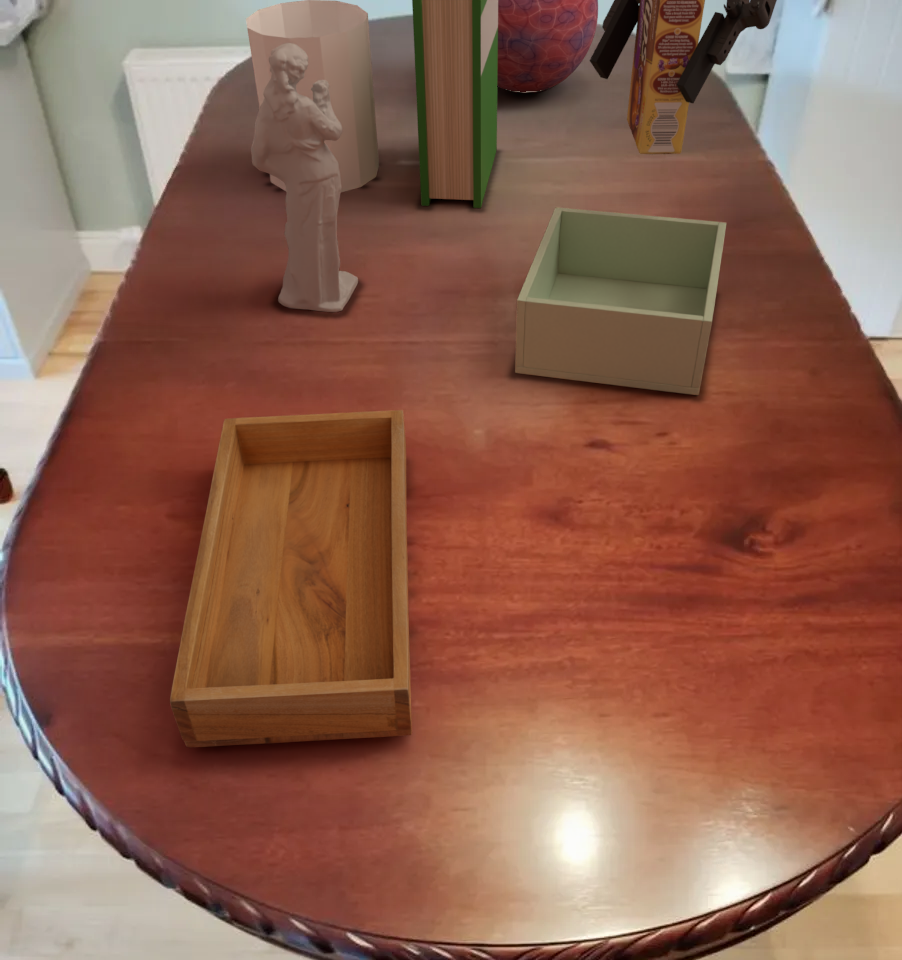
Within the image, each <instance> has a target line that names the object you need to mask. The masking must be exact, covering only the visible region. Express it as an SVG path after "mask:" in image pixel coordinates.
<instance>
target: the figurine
mask: <svg viewBox="0 0 902 960" xmlns="http://www.w3.org/2000/svg"><path fill="white" fill-rule="evenodd" d="M308 60H309V59H308V56H307V54H306V52H305V51H304V50H303V49H301V48H300V47H299V46H298V45H296V44H292V43H285V44H282V45H280V46H278V47H276V48H275V49H273V50H272V51H271V56H270V57H269V63H270V72H271V73H272V75H271V79H270V81H269V82H268V84H267V86H266V87H265V89H264V93H263V95H264V100H263V102H262V104H261V106H260V108H259V107H258V111H257V115H256V118H255V122H254V134H253V140H252V144H251V147H250V153H251V162H252V163H251V165H252V166H253V167H255V168H256V169H257V170H258V171H260V172H262V173H263V172H264V173H266V174H269V175H270V174H271V175H273V176H275V177H277V178H278V179H280V180H281V181H283V182H284V183H285V185H286V191H285V192H286V195H285V213H286V222H285V224H284V232H283V235H284V238H285V241H286V244H287V250H288V251H287V252H288V254H287V256H288V257H287V262H286V267H285V270H284V274H283V277H282V287H281V289H280V293H279V295H278V299H277V301H278V303H279V304H281V306H283V307H286V308H288V309H297V310H309V311H310V310H311V311H318V312H324V313H325V312H326V313H327V312H328V313H337V312H338V313H339V312H342V311H343V310H344V308H345V306H347V304H348V302H349V300H350V299H351V297H352V295H353V293H354V291H355V289H356V288H357V286H358V285H359V278H358V276H356V275H354V274H353V273H351V272H348V271H345V270H340V268H341V258H340V257H341V256H340V249H339V241H338V213H339V206H340V199H341V193H342V192H341V189H342V187H341V178H340V171H339V164H338V161H337V160H336V158H335V157H334V155H333V154H332V152H331V151H330V149H329V148H328V146H327V145H326V144H325V143H324V141H325V140H332V141H336V140H338V139H339V138H340V136H341V134H342V126H341V123H340V122H339V121H338V119H337V117H336V116H335V114H334V112H333V109H332V106H331V98H330V94H329V90H328V89H329V86H330V85H329V84H328V82H327V81H326V80H317V82H315V83H313V87H312V88H311V90H312V92H313V100H311V99H310V98H308V97H306V96H303V95H300V94H298V93H297V90H296V84H297V83H298V82H299V81H300V80H301V79H303V78H304V77H305V75H304V72H305V70H306V69H307V67H308V62H307V61H308ZM340 192H341V193H340Z"/></svg>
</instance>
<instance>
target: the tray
mask: <svg viewBox="0 0 902 960" xmlns="http://www.w3.org/2000/svg"><path fill="white" fill-rule="evenodd" d="M404 413H405V412H404V410H403V409H398V410H397V409H396V410H376V411H375V410H373V411H353V412H352V411H351V412H333V413H312V414H291V415H273V416H272V415H271V416H251V417H233V418H224V420H223V424H222V428H221V432H220V438H219V443H218V449H217V453H216V459H215V464H214V469H213V474H212V479H211V482H210V483H211V484H210V489H209V495H208V500H207V505H206V511H205V515H204V521H203V526H202V529H201V530H202V531H201V534H200V540H199V545H198V551H197V556H196V561H195V566H194V571H193V576H192V582H191V586H190V591H189V596H188V601H187V606H186V611H185V616H184V622H183V625H182V626H183V627H182V632H181V637H180V643H179V648H178V654H177V658H176V664H175V669H174V675H173V680H172V685H171V690H170V696H169V697H170V698H169V703H170V708H171V711H172V714H173V716H174V717H173V718H174V719H175V723H176V726H177V728H178V731H179V734H180V737H181V740H182V742H184V745H185V746H186V748H206V747H207V748H208V747H222V746H240V745H241V746H242V745H261V744H279V743H295V742H296V743H297V742H298V743H299V742H312V741H313V742H314V741H315V742H316V741H331V740H347V739H365V738H368V739H369V738H384V737H402V736H412V734H413V721H412V720H413V719H412V691H411V690H412V689H411V688H412V687H411V654H410V653H411V652H410V651H411V650H410V615H409V614H410V611H409V609H410V607H409V564H408V563H409V561H408V560H409V559H408V525H407V524H408V514H407V513H408V511H407V510H408V509H407V508H408V507H407V441H406V440H407V439H406V428H405V416H404V415H405V414H404Z"/></svg>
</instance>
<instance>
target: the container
mask: <svg viewBox="0 0 902 960" xmlns="http://www.w3.org/2000/svg"><path fill="white" fill-rule="evenodd" d="M245 22H246V29H247V34H248V35H247V36H248V43H249V49H250V56H251V61H252V68H253V75H254V81H255V89H256V94H257V101H258V109H259V108H260V106H261V104H262V102H263V100H264V95H263V93H264V89H265V87H266V86H267V84H268V82H269V81H270V79H271V75H272V73H271V72H270V63H269V57H270V56H271V51H272V50H273V49H275V48H276V47H278V46H280V45H282V44H285V43H292V44H296V45H298V46H299V47H300V48H301V49H303V50H304V51H305V52H306V54H307V56H308V59H309V60H308V61H307V62H308V67H307V69H306V70H305V72H304V75H305V77H304V78H303V79H301V80H300V81H299V82H298V83H297V84H296V90H297V93H298V94H300V95H303V96H306V97H308V98H310V99H311V100H313V92H312V90H311V88H312V87H313V83H315V82H317V80H326V81H327V82H328V84H329V85H330V86H329V89H328V90H329V94H330V98H331V106H332V109H333V112H334V114H335V116H336V117H337V119H338V121H339V122H340V123H341V126H342V134H341V136H340V138H339V139H338V140H336V141H332V140H325V141H324V143H325V144H326V145H327V146H328V148H329V149H330V151H331V152H332V154H333V155H334V157H335V158H336V160H337V161H338V164H339V171H340V178H341V187H342V189H341V192H340V194H342V193H344V192H348V191H351V190H355V189H358V188H361V187H363V186H365V185H367V184H368V183H370V182H371V181H372V180H374V179H375V178H377V176H378V171H379V167H380V160H379V159H380V158H379V148H378V147H379V145H378V134H377V120H376V106H375V105H376V104H375V92H374V78H373V66H372V64H373V63H372V51H371V36H370V26H369V25H370V24H369V23H370V22H369V13H368V12H367V11H365V9H363V8H362V7H360V6H359V5H358V4H353V3H348V2H343V1H339V0H295V1H288V2H280V3H276V4H274V5H269V6H266V7H264V8H260V9H257V10H256V11H255V12H253V13H252V14H250V15H249V16H248V17H246V18H245ZM269 180H270V183H271V184H273V185H275V186H277V187H278V188H280V189H282V190H283V191H285V192H286V185H285V183H284V182H283V181H281V180H280V179H278V178H277V177H275V176H273V175H271V174H269Z"/></svg>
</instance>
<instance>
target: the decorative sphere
mask: <svg viewBox="0 0 902 960" xmlns="http://www.w3.org/2000/svg"><path fill="white" fill-rule="evenodd" d="M598 20H599V0H498V69H497V86H498V87H497V88H499V87H500V88H499V89H502V88H503V89H502V90H504V89H507V90H511V91H520V92H526V91H539V92H541V91H540V90H543V91H546V90H549V89H551V88H553V87H555V86H558V85H559V84H561V83H562V82H563V81H565V80H566V79H567V78H568V77H570V76H571V75H572V74H573V73H574V72H575V71H576V70H577V69H578V67H579V66H580V65H581V64H582V62H583V61H584V59H585V58H586V56H587V55H588V53H589V51H590V48H591V46H592V43H593V41H594V38H595V34H596V31H597V25H598ZM548 88H549V89H548ZM545 89H546V90H545ZM507 90H506V91H507ZM511 91H510V92H511ZM515 93H516V94H518V93H517V92H515ZM535 93H536V92H534V93H533V94H535Z"/></svg>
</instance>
